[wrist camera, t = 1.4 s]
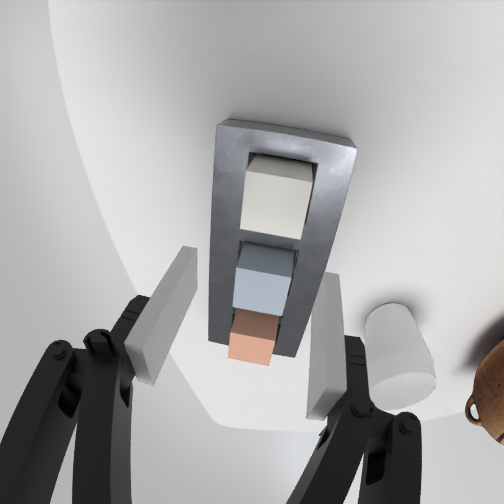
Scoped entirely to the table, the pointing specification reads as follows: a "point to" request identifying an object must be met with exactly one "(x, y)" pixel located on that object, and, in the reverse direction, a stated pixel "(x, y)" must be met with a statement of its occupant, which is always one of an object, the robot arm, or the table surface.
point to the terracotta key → (253, 336)
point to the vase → (489, 393)
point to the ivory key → (276, 196)
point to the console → (233, 238)
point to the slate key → (263, 278)
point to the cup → (397, 359)
